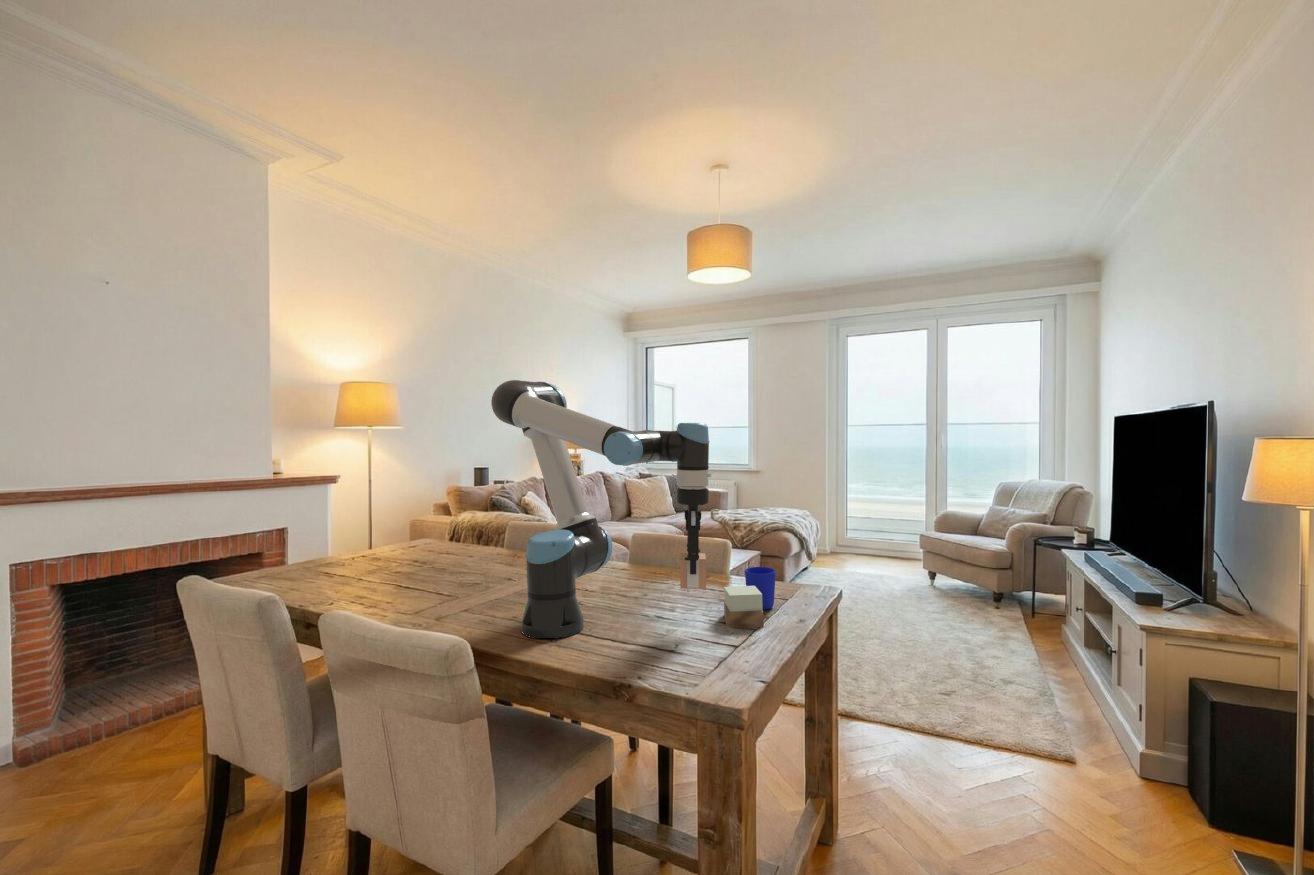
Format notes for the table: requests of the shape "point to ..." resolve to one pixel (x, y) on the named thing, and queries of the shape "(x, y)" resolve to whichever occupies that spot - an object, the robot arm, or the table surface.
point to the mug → (762, 583)
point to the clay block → (701, 571)
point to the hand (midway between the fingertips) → (692, 583)
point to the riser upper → (743, 598)
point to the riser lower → (743, 618)
